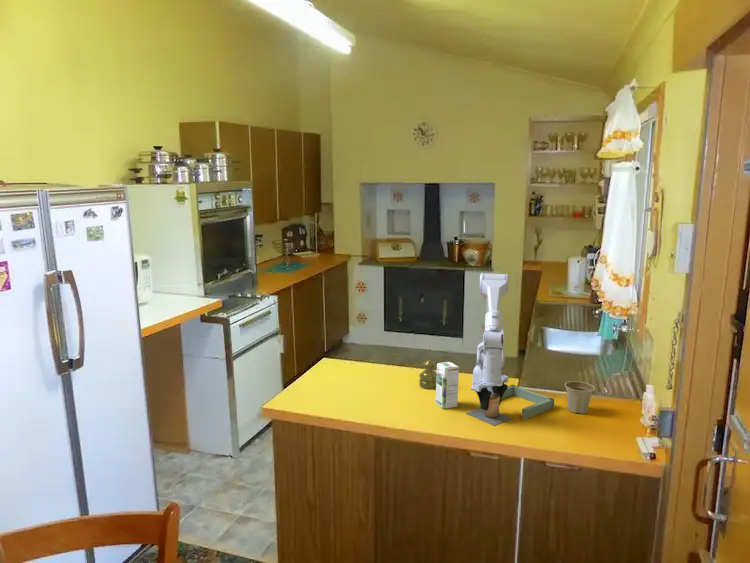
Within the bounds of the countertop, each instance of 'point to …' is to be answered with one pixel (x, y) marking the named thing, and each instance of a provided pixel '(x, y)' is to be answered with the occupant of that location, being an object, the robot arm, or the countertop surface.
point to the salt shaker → (428, 376)
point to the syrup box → (447, 385)
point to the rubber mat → (491, 420)
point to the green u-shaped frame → (540, 400)
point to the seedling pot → (493, 406)
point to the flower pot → (578, 396)
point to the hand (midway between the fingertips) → (490, 407)
